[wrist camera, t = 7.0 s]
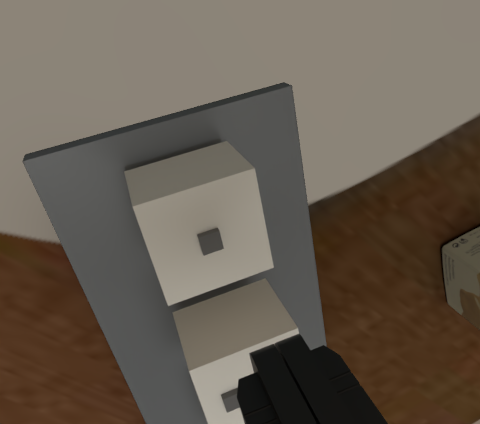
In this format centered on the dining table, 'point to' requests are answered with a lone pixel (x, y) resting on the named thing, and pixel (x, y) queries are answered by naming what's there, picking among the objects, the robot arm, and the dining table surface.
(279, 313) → the key
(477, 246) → the skincare box
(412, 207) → the dining table surface
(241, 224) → the key
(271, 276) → the grey rectangular board
